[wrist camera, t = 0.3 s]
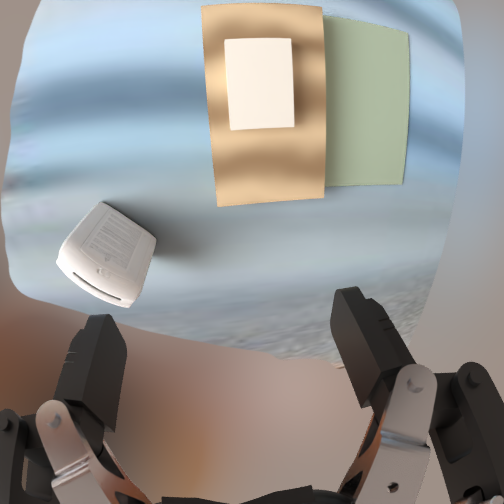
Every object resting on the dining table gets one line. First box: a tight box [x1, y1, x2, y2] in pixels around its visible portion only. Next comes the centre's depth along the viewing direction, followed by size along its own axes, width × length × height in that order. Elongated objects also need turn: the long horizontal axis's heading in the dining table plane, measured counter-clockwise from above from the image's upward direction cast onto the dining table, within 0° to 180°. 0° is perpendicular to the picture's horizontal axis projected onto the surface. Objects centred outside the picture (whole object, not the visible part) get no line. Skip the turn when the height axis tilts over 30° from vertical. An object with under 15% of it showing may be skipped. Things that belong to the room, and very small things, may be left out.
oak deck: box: [201, 3, 326, 207], centre depth 27 cm, size 22×12×4 cm, turn 3°
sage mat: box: [322, 15, 410, 187], centre depth 30 cm, size 22×13×1 cm, turn 3°
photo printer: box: [56, 202, 156, 308], centre depth 30 cm, size 10×4×12 cm, turn 49°
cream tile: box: [224, 38, 294, 131], centre depth 24 cm, size 9×6×2 cm, turn 3°
